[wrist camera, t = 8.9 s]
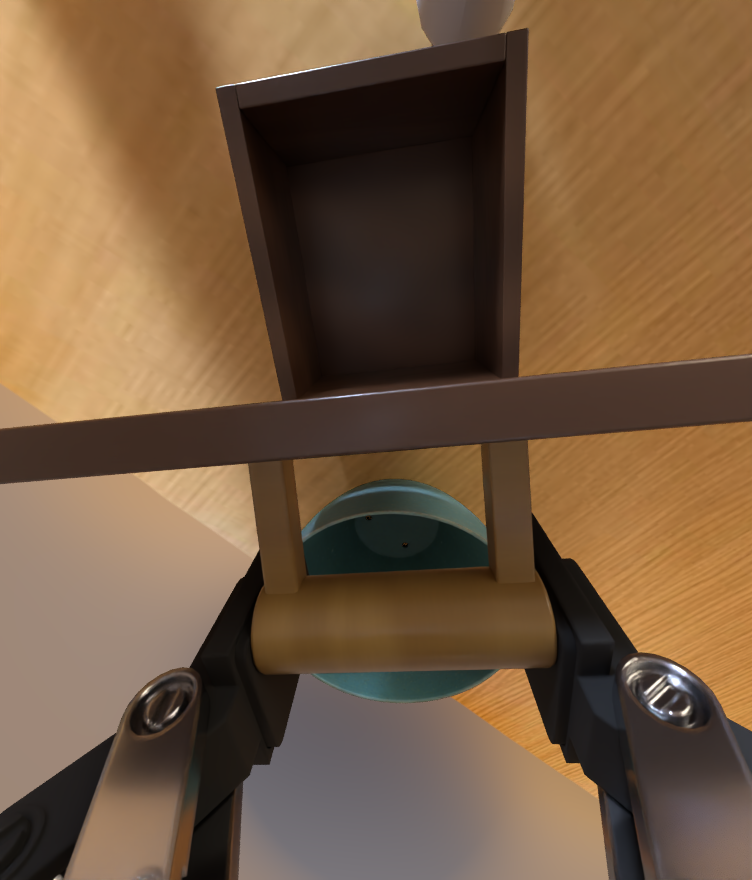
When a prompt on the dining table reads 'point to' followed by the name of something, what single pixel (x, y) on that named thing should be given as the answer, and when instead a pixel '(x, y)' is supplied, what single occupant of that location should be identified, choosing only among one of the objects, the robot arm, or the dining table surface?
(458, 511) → the green bowl
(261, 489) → the chest lid
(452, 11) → the salt shaker
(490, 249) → the chest
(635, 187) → the dining table surface
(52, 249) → the dining table surface
